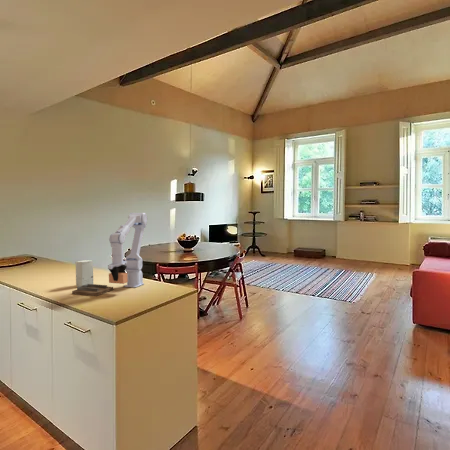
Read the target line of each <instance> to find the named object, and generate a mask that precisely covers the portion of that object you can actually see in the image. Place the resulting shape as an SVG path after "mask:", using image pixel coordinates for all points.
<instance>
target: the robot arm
mask: <svg viewBox="0 0 450 450" xmlns="http://www.w3.org/2000/svg"><path fill="white" fill-rule="evenodd" d="M147 223H148V216H147V213H146V212H129V214H128V216H127V220H126V221H125V223H124V224H121V225H120V226H119V227H118V229H117V230H116V231H115V232H112V233H111V234H110V235H109V238H108V240H109V243H110V247H111V258H112V259H111V261H112V262H111V263H110V264H109V265H107V269H108V270H109V272H110V273H111V274H112V276H113V280H114V281H118V273H127V280H128V282H127V283H126V284H125V285H123V287H126V288H138V287H140V286H142V285H145V283H144V281H143V280H144V277H143V275H144V274H143V271H142V269H143V258H142V257H141V256H140V252H141V248H142V241H143V239H144V237H143V236H144V232H145V229H146V228H147ZM131 228H133V229H134V233H133V234H134V235H133V239H132V243H131V248H130V254H128V255H126V256H125V258H124V249H123V248H124V245H123V244H124V243H125V241H126V237H127V235H128V234H129V233H130V231H131V230H130V229H131Z"/></svg>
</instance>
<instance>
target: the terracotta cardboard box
mask: <svg viewBox="0 0 450 450" xmlns="http://www.w3.org/2000/svg"><path fill="white" fill-rule="evenodd" d="M127 282H128V280H127V272H124V273H118V281H114V280H113V276H112V274H111V272H110V273H108V283H110V284H111V283H112V284H119V285H120V284H123V285H124V284H127Z"/></svg>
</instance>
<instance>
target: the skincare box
mask: <svg viewBox="0 0 450 450" xmlns="http://www.w3.org/2000/svg"><path fill="white" fill-rule="evenodd" d="M85 284H94V260H91V259H89V260H88V259H85V260H84V259H83V260H78V261H75V286H76V287H79V286H82V285H85Z"/></svg>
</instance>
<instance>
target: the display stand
mask: <svg viewBox="0 0 450 450" xmlns="http://www.w3.org/2000/svg"><path fill="white" fill-rule="evenodd" d="M113 290H114V286H108V285H106V284H97V283H96V284H95V283H93V284H85V285H82V286H76V289H74V290H72V292H71V293H72V295H73V294H74V295H81V296H82V295H84V296H92V297H98V296H101V295H103V294H105V293H109V292H111V291H113Z"/></svg>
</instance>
